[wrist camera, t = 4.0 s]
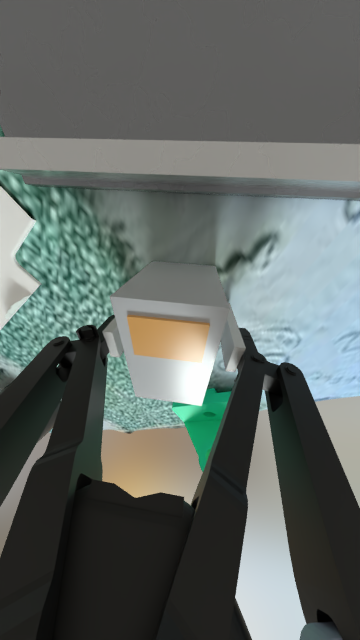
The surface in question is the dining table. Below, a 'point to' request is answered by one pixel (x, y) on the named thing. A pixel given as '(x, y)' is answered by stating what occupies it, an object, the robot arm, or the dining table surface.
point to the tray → (13, 258)
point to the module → (171, 329)
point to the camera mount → (203, 421)
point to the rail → (183, 96)
